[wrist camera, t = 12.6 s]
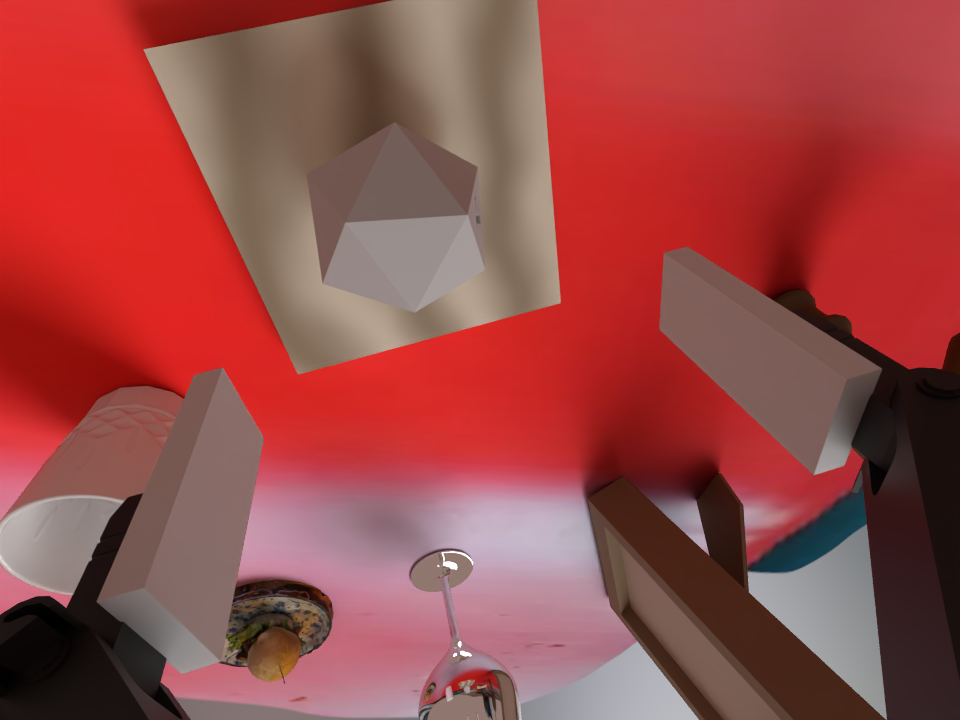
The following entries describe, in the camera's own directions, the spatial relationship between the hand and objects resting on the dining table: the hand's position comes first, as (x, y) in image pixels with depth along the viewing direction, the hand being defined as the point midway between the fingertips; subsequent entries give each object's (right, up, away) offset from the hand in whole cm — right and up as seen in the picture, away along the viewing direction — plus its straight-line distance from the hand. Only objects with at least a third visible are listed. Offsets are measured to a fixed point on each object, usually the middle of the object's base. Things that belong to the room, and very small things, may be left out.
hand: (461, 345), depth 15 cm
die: (-4, +8, +13) cm, 16 cm away
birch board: (-4, +9, +14) cm, 18 cm away
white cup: (-22, -5, +19) cm, 29 cm away
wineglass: (-3, -22, +35) cm, 42 cm away
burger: (-20, -25, +33) cm, 46 cm away
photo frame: (+20, -19, +41) cm, 50 cm away
